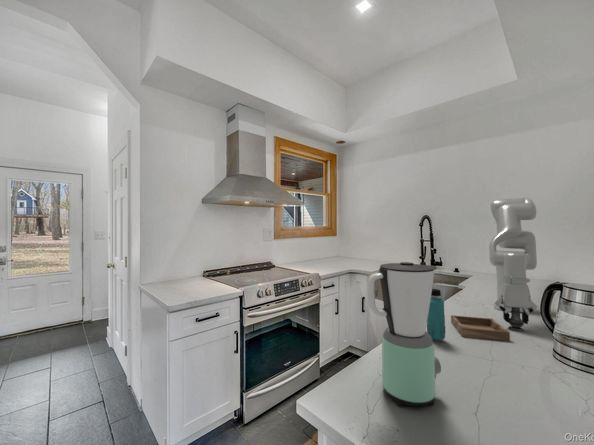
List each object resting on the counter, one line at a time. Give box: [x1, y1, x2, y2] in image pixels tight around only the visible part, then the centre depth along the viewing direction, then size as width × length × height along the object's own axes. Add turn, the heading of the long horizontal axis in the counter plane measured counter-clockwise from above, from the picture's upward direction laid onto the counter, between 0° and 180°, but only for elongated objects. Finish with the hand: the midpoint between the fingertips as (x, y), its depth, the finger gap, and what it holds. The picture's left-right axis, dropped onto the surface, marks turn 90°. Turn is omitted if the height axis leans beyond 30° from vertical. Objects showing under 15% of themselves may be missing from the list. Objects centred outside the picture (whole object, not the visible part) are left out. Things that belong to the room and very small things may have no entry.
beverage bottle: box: [426, 288, 446, 341], centre depth 104 cm, size 6×7×20 cm
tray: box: [450, 315, 511, 342], centre depth 113 cm, size 16×16×4 cm
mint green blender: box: [367, 261, 442, 408], centre depth 70 cm, size 19×13×35 cm
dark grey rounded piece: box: [508, 307, 525, 332], centre depth 115 cm, size 6×6×12 cm
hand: (515, 321), depth 115 cm, fingers closed on dark grey rounded piece, 5 cm apart
